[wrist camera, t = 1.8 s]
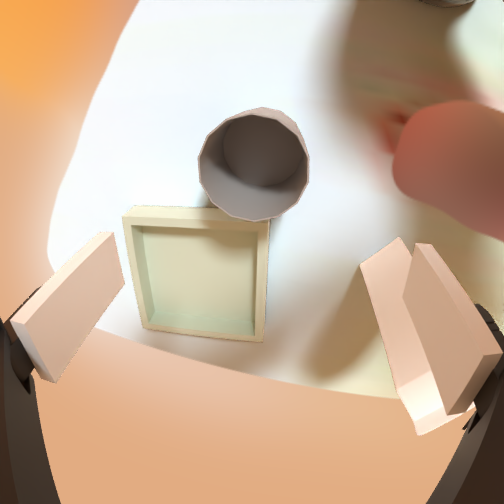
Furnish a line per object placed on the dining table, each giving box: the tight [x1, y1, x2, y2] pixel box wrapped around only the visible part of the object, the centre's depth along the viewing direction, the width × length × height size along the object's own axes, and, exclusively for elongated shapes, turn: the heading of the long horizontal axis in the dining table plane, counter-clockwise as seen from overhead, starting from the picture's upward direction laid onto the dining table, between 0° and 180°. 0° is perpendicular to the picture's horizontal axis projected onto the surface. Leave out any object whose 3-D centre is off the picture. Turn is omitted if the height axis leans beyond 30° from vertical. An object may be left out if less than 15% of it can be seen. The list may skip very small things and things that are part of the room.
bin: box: [122, 205, 270, 342], centre depth 38 cm, size 16×16×4 cm
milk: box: [359, 237, 475, 436], centre depth 27 cm, size 6×6×22 cm
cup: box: [198, 107, 309, 222], centre depth 28 cm, size 8×8×10 cm
